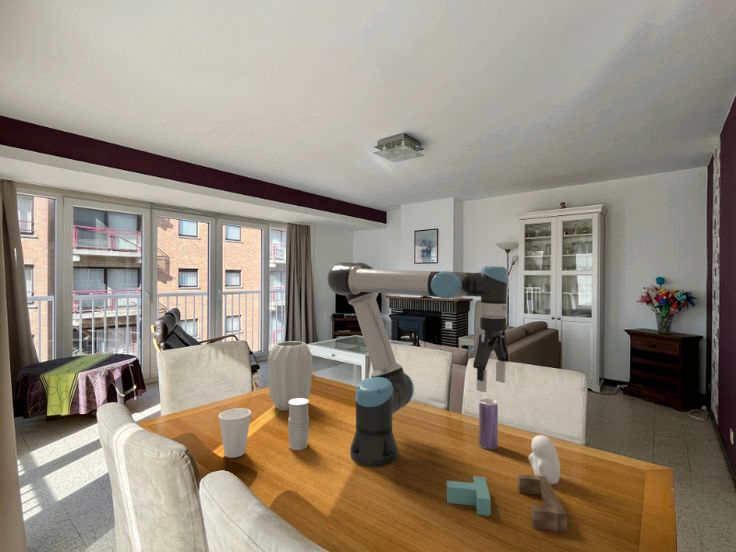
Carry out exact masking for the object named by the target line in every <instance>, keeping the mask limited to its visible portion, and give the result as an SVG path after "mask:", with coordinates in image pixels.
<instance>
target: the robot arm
mask: <svg viewBox="0 0 736 552" xmlns="http://www.w3.org/2000/svg"><path fill="white" fill-rule="evenodd" d="M327 284H328V286H329V288H330V290H331V291H332V292H334V293H335V294H337V295H341V296H345V297H346V300H347V302H348V304H349V305H351V306H352V307H353V308H354V312H355V315H356V318H357V321H358V325H359V328H360V330H361V331H360V332H361V335H362V338H363V341H364V345H365V348H366V351H367V354H368V357H369V359H370V363H371V367H372V373H371V374H370V378H369V377H367V378H365V379H363V380H361V381H359V383H358V384H357V386H356V391H355V398H354V399H355V433H354V435H353V439H352V442H351V444H350V445H351V446H350V448H349V450H350V451H349V454H350V459H351V460H352V461H353V462H354V463H356V464H358V465H361V466H364V467H365V466H366V467H370V468H371V467H372V468H373V467H375V468H376V467H377V468H378V467H384V466H388V465H391V464H392V463H394V462H395V461H397V459H398V458H399V457H398V456H399V454H398V453H399V450H398V449H399V448H398V445H397V441H396V439H395V436H394V432H393V415H394V413H396V412H398V411H399V410H400V409H402V408H404V407H406V406H407V405H408V404H409V403H410V401H411V400H412V398H413V397H414V391H415V386H414V381H413V380H412V378H411V377H410V376H409V375H408V374H406V372H405V371H404V368H403V366H402V365H401V364H399V363H397V360H396V357H395V353H394V351H393V348H392V346H391V342H390V338H389V336H388V332H387V329H386V326H385V323H384V319H383V317H382V314H381V311H380V308H379V304H378V302H377V297H378V295H379V294H390V295H391V294H392V295H403V296H404V295H406V296H418V297H419V296H421V297H434V298H441V299H445V300H446V299H447V300H448V299H450V300H451V299H453V298H457V297H477V298H478V297H480V308H479V309H480V310H479V311H480V313H479V314H480V315H481V317H480V320H479V328H480V329H481V330H482V331H483V332H484V334H481V333H480V334H479V336H478V343H477V348H476V350H475V351H476V352H475V356H474V360H473V364H472V367H473V369H476V391H477V392H481V393H487V388H488V387H487V384H488V383H487V382H488V380H487V377H488V369H487V365H488V362H489V359H490V357H491V354H492V352H493V351H494V353H495V355H496V358H497V360H496V361H495V382H497V383H503V384H504V383H506V362H507V363H508V362H509V361H510V358H509V357H510V355H509V349H508V345H507V339H506V338H507V337H506V330H507V319H506V318H505V317H506V316H507V311H508V310H509V308H508V307H507V301H508V299H507V298H508V270H507V268H506V267H505V266H488V265H487V266H482V267H481V270H480V271H479V272H464V271H462V272H461V271H460V272H459V271H448V270H447V271H437V270H436V271H432V270H411V269H409V270H407V269H406V270H405V269H383V268H382V269H379V268H374V267H373V266H371V265H369V264H367V263H364V262H338V263H336V264H335V265H333V266H332V267H331V268H330V270H329V271H328V273H327Z"/></svg>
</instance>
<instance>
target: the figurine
mask: <svg viewBox="0 0 736 552" xmlns="http://www.w3.org/2000/svg"><path fill="white" fill-rule="evenodd" d="M530 447H531V450H532V452H531V453H529V455H528V461H529V463H530V465H531V468H532V471H533V473H534V475H535V476H545V477H546V478H547V480H548V482H549V483H550V485H555V484H558V483H559V481H560V478H561V463H560V459H559V456H558V455H559V454H558V452H557V448H556V446H555V444H554V442H553V441H552V440H551V438H549V437H548V436H546V435H543V434H540V435H536V436H533V438H532V439H531V445H530Z"/></svg>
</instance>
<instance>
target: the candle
mask: <svg viewBox="0 0 736 552" xmlns="http://www.w3.org/2000/svg"><path fill="white" fill-rule="evenodd" d="M309 403H310V400H309V398H308V399H305V398H296V399H292V400H290V401H289V403H288V404H289V412H288V413H289V415H288V419H287V421H288V422H287V426H288V429H287V431H288V443H289V444H290V445H289V448H290V449H291V450H293V451H302V450H305V449H307V447H308V443H307V442H308V441H309V439H310V438H309V430H310V427H309V426H310V420H309V419H310V417H309Z"/></svg>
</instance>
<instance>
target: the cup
mask: <svg viewBox="0 0 736 552" xmlns="http://www.w3.org/2000/svg"><path fill="white" fill-rule="evenodd" d="M217 418H218V423H219V428H220V429H219V430H220V433H221V440H222V446H223V447H222V448H223V454H224V456H225V457H226V458H231V459H233V458H238V457H241V456H244V455H245V454H246V449H247V444H248V443H247V441H248V435H249V427H250V422H251V418H252V411H251V410H250V409H248V408H245V407H244V408H243V407H241V408H240V407H238V408H230V409H229V408H228V409H227V410H223V411H222V412H220V413H219V414H218V416H217Z"/></svg>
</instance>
